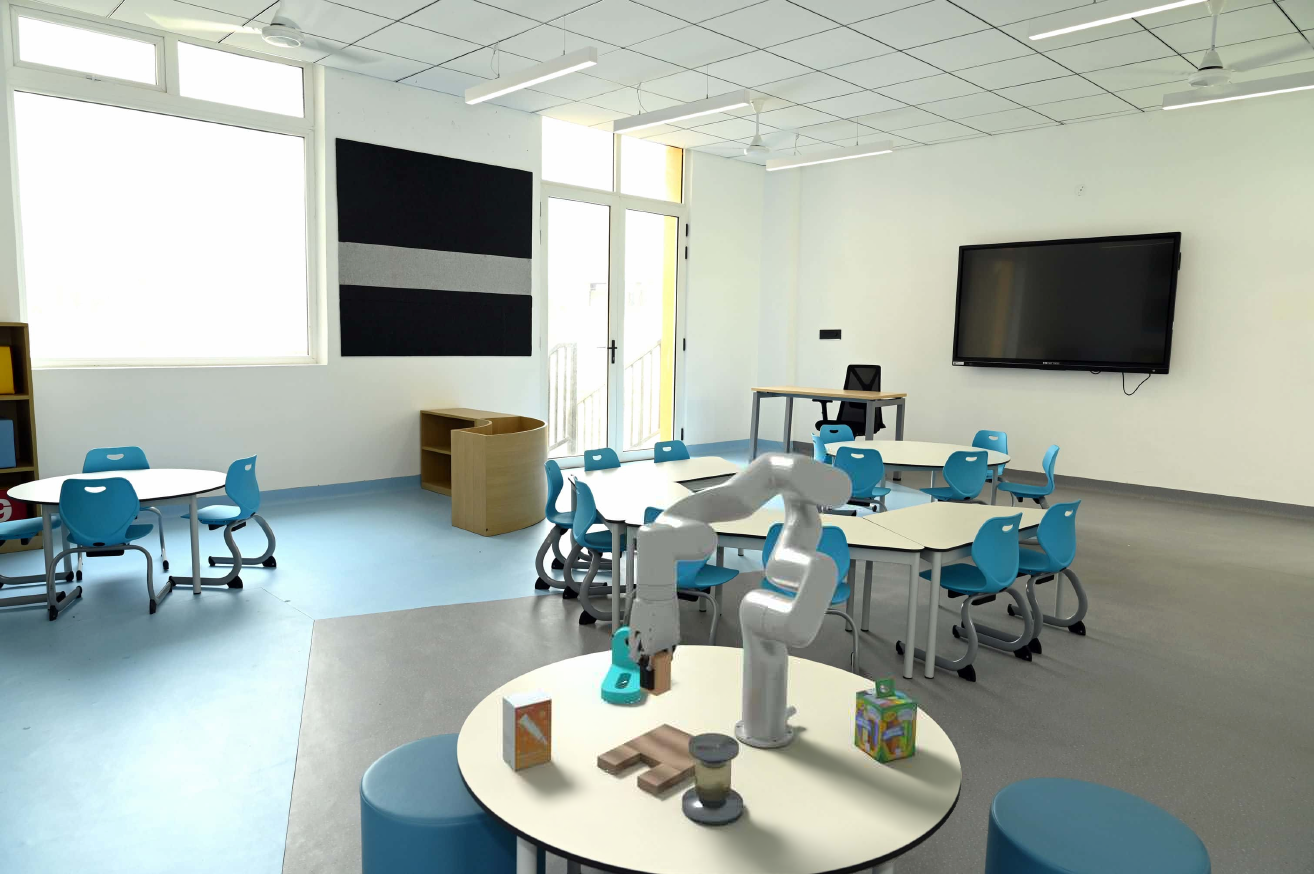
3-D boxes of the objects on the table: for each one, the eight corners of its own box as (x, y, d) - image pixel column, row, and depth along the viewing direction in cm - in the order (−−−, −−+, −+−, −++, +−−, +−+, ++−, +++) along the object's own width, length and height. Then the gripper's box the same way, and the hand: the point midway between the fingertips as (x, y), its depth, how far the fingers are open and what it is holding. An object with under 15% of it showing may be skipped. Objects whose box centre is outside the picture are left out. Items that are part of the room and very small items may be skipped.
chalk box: (880, 764, 163) (883, 693, 162) (852, 744, 172) (854, 676, 170) (917, 755, 167) (920, 686, 165) (887, 736, 175) (890, 669, 174)
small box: (514, 771, 158) (514, 707, 157) (502, 758, 164) (501, 696, 162) (552, 760, 163) (552, 698, 162) (538, 748, 168) (538, 687, 167)
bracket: (613, 670, 211) (614, 626, 209) (649, 672, 209) (650, 628, 208) (598, 702, 191) (598, 654, 190) (637, 705, 190) (638, 656, 188)
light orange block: (654, 683, 156) (655, 648, 156) (670, 689, 154) (671, 653, 153) (640, 690, 153) (641, 654, 153) (657, 696, 151) (657, 659, 150)
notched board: (665, 732, 176) (665, 723, 176) (723, 757, 165) (723, 748, 165) (597, 765, 161) (597, 756, 161) (656, 796, 150) (656, 785, 150)
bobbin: (708, 785, 154) (709, 724, 153) (755, 807, 147) (757, 744, 146) (669, 808, 146) (670, 744, 145) (717, 833, 139) (718, 766, 138)
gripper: (669, 577, 161) (668, 667, 162) (610, 595, 148) (610, 692, 150) (699, 584, 156) (697, 677, 158) (641, 604, 143) (640, 704, 145)
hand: (655, 683), depth 154 cm, fingers closed on light orange block, 4 cm apart
